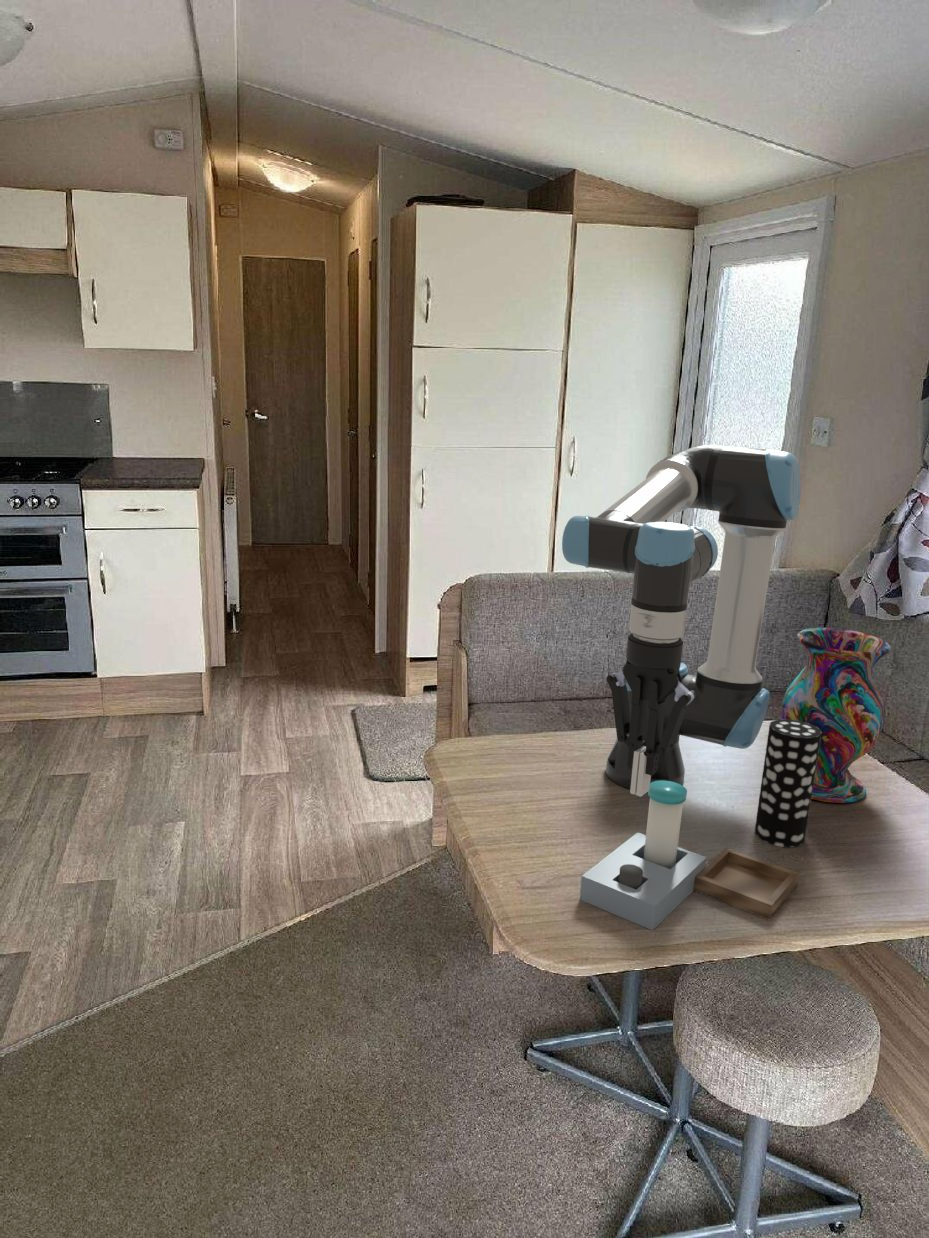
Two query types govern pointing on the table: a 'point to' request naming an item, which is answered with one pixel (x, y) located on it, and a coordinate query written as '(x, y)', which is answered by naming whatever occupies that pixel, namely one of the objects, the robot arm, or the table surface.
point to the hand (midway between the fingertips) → (639, 791)
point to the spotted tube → (787, 782)
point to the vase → (838, 705)
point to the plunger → (631, 876)
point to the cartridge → (664, 822)
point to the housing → (657, 888)
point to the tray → (746, 882)
